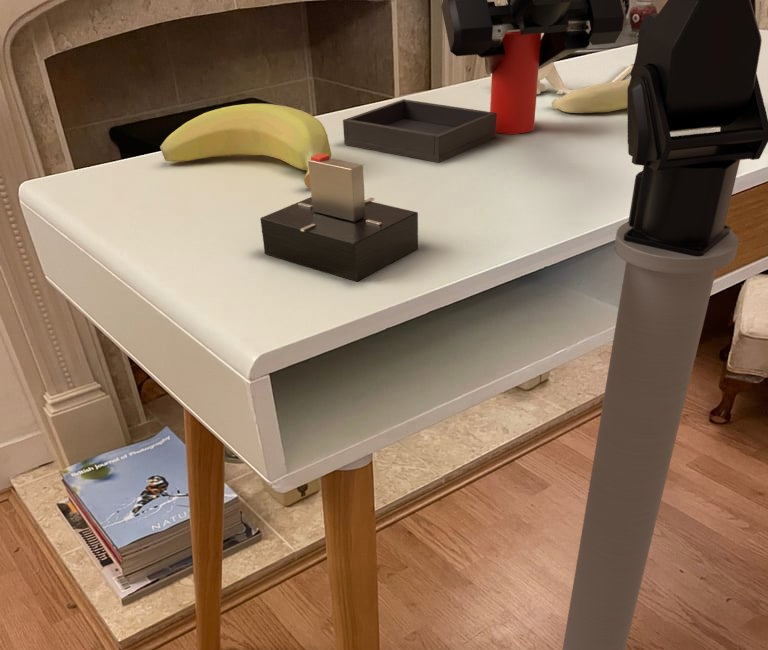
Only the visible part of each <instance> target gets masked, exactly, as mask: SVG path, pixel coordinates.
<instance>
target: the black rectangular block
mask: <svg viewBox="0 0 768 650" xmlns="http://www.w3.org/2000/svg"><path fill="white" fill-rule="evenodd" d="M259 221H260V227H261V235H262V242H263V250H264V254H265V255H267V256H271V257H274V258H278V259H281V260H284V261H287V262H291V263H294V264H297V265H301V266H305V267H308V268H310V269H314V270H318V271H321V272H324V273H327V274H330V275H334V276H337V277H341V278H343V279H347V280H351V281H354V282H358V281H360V280H362V279H363V278H366V277H368V276H369V275H371V274H374V273H375V272H377V271H379V270H380V269H383V268H384V267H386V266H388V265H390V264H392V263H393V262H395V261H397V260H400V259H401V258H403V257H405V256H407V255H408V254H410V253H413V252H414V251H416V250H418V249H419V213H418V211H414V210H409V209H405V208H401V207H397V206H392V205H388V204H383V203H379V202H376V201H375V198H374V197H369V198H366V199H365V217H364V218H362V219H360V220H358V221H355V222H353V221H349V220H345V219H341V218H337V217H333V216H329V215H325V214H321V213H317V212H313V209H312V198H311V196H310V197H308V198H305V199H303V200H300V201H298V202H296V203H295V202H294V203H293V204H291V205H288V206H286V207H284V208H280V209H278V210H276V211H274V212H271V213H269V214H266V215H264V216H262V217H260V220H259Z"/></svg>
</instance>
